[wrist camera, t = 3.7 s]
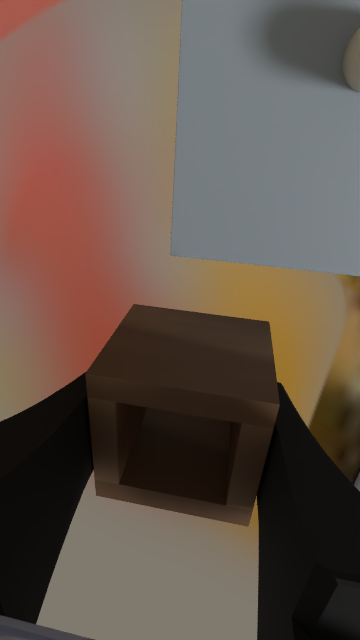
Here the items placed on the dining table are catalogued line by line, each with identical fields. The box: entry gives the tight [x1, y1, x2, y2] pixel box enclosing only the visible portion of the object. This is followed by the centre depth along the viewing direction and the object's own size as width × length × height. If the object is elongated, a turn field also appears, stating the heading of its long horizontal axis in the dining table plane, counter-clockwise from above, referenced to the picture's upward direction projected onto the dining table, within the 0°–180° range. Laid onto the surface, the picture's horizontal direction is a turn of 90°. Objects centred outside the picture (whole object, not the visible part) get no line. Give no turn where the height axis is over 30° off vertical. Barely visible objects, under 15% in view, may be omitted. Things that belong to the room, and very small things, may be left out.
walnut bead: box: [85, 304, 280, 526], centre depth 12 cm, size 5×5×4 cm
